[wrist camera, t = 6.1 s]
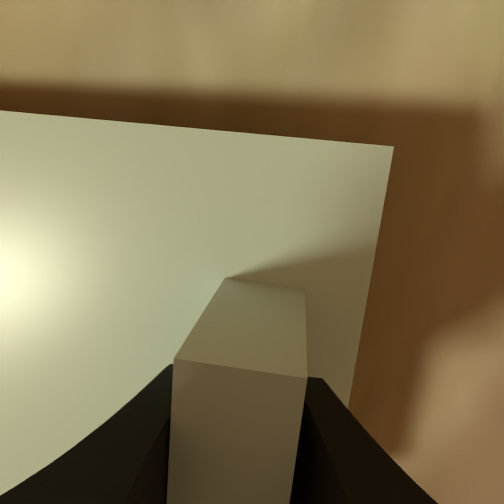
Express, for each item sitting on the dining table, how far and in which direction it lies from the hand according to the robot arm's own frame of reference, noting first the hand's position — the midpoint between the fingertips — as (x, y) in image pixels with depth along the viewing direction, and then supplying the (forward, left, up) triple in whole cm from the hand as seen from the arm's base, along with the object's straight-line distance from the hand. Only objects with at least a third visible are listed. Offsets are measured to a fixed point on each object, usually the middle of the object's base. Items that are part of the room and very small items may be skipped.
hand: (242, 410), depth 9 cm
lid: (0, +5, -3) cm, 5 cm away
